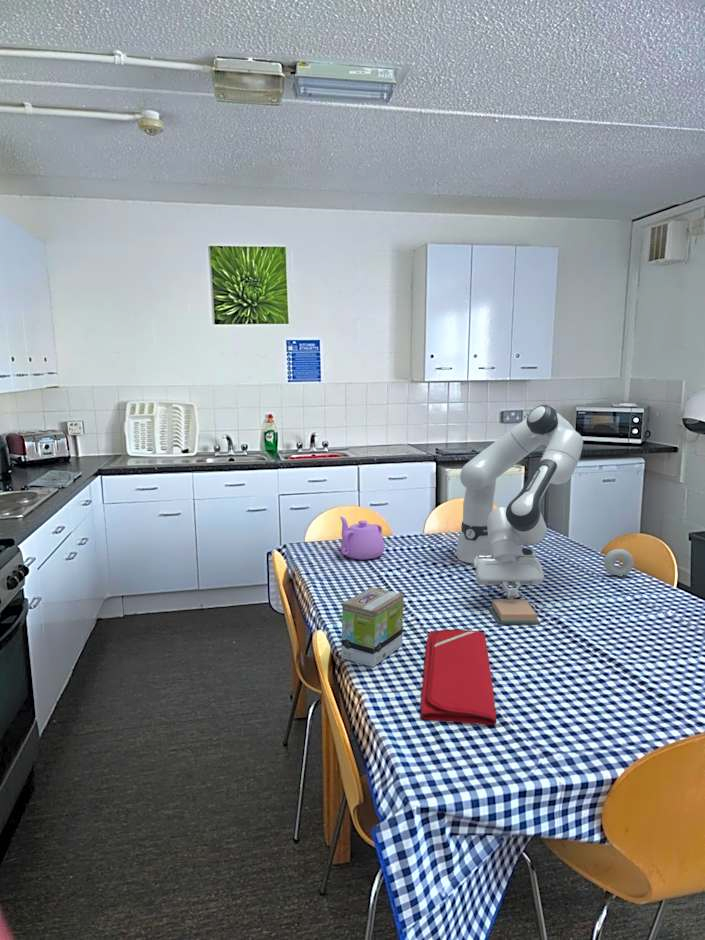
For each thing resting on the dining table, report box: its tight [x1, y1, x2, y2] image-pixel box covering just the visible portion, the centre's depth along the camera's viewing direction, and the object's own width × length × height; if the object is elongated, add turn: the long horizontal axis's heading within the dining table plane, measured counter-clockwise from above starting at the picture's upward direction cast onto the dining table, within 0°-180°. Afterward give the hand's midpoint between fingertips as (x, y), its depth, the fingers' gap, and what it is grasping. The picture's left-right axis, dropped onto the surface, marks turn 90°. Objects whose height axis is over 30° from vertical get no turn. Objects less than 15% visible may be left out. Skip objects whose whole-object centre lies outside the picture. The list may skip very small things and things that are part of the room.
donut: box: [603, 548, 635, 577], centre depth 220 cm, size 10×4×10 cm, turn 84°
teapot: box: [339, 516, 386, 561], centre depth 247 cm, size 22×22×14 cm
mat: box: [489, 607, 541, 625], centre depth 184 cm, size 11×12×1 cm
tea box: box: [340, 587, 404, 668], centre depth 160 cm, size 15×10×15 cm, turn 148°
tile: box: [491, 598, 538, 623], centre depth 185 cm, size 2×10×12 cm
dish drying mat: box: [420, 628, 497, 726], centre depth 149 cm, size 16×41×4 cm, turn 171°
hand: (512, 596), depth 187 cm, fingers closed
